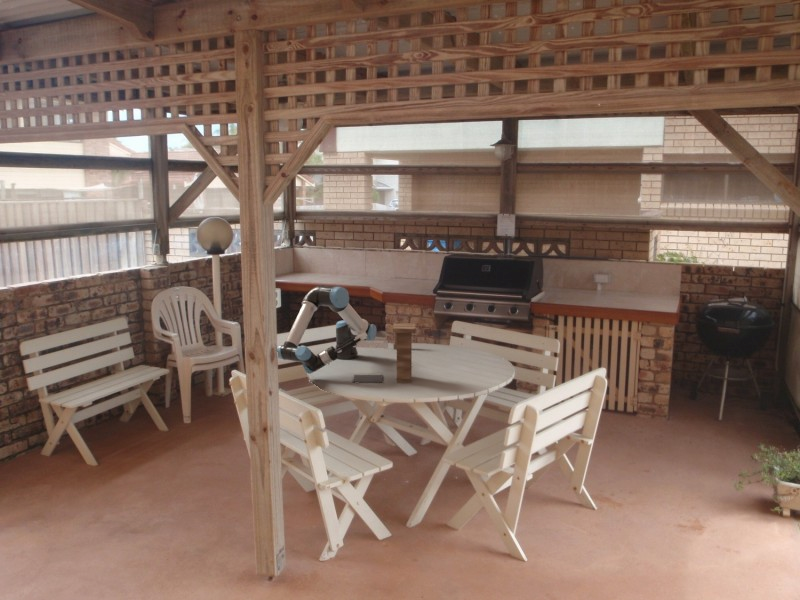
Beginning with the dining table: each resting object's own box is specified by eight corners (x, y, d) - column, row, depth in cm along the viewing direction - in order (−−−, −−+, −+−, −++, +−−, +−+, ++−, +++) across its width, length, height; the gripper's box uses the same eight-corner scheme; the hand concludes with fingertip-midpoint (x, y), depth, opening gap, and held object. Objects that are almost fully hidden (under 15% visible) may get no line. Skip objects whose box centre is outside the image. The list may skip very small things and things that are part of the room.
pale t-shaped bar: (353, 344, 381) (353, 339, 381) (387, 346, 381) (387, 340, 381) (352, 347, 376) (352, 342, 375) (387, 348, 375) (387, 343, 375)
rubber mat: (354, 375, 388) (354, 374, 388) (382, 375, 388) (382, 374, 388) (352, 382, 374) (352, 381, 374) (381, 382, 374) (381, 381, 374)
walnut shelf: (393, 375, 389) (393, 323, 384) (414, 375, 389) (415, 323, 384) (392, 383, 373) (392, 328, 368) (415, 383, 373) (415, 329, 368)
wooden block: (409, 349, 452) (409, 322, 449) (393, 349, 453) (393, 322, 450) (410, 348, 455) (410, 321, 452) (394, 347, 457) (394, 321, 454)
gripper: (334, 357, 389) (370, 337, 387) (331, 365, 371) (368, 344, 369) (327, 345, 388) (363, 325, 386) (324, 353, 370) (361, 332, 368)
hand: (365, 334), depth 377 cm, fingers open, 5 cm apart
